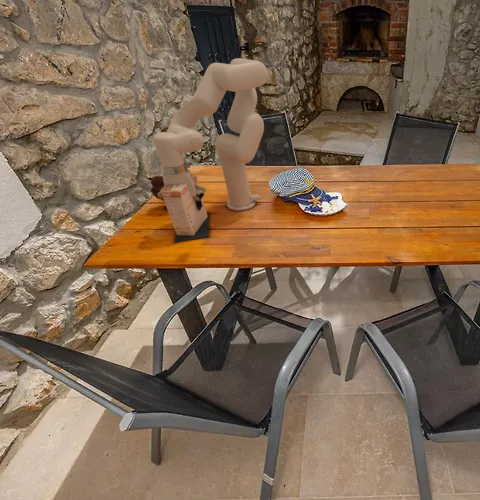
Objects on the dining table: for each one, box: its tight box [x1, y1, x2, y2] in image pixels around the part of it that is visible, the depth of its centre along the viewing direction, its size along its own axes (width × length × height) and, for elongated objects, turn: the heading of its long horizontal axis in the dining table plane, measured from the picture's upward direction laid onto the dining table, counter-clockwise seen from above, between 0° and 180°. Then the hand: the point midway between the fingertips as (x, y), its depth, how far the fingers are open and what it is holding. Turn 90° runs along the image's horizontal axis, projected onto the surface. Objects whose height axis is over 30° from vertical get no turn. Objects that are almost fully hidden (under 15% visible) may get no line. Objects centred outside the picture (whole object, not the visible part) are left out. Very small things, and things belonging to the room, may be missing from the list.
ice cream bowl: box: [149, 175, 168, 211], centre depth 138 cm, size 11×11×15 cm
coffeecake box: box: [160, 173, 208, 236], centre depth 124 cm, size 15×7×20 cm, turn 179°
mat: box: [174, 211, 210, 243], centre depth 130 cm, size 12×20×1 cm, turn 19°
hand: (187, 210), depth 125 cm, fingers closed on coffeecake box, 8 cm apart
